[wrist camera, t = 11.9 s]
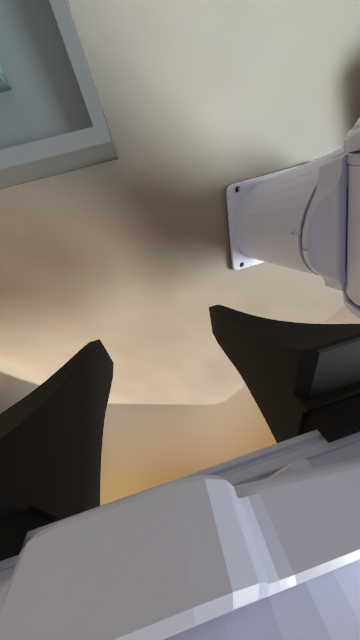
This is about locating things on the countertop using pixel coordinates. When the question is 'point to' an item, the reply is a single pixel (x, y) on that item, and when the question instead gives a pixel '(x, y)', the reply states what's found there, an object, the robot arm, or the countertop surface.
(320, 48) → the countertop surface
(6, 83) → the small crate
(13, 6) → the grey tray
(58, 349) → the countertop surface
